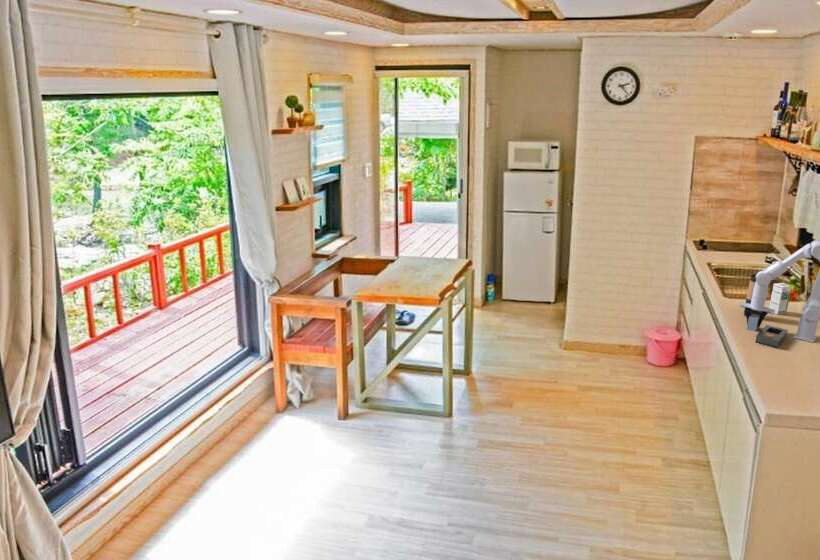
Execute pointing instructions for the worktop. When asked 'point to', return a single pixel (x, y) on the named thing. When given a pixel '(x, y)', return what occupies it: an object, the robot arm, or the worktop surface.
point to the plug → (753, 322)
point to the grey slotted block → (771, 336)
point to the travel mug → (751, 293)
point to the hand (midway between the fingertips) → (753, 325)
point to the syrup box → (780, 298)
